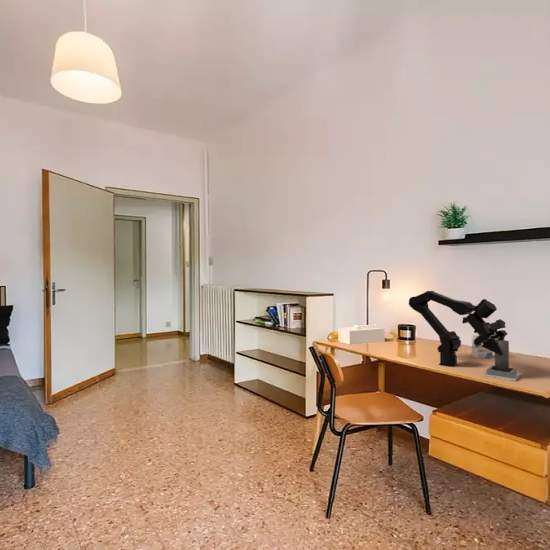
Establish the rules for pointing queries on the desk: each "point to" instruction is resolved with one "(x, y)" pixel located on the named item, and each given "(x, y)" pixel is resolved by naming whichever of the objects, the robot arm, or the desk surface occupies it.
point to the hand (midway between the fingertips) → (505, 354)
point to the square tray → (502, 373)
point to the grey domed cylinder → (502, 360)
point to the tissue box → (361, 334)
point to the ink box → (479, 349)
